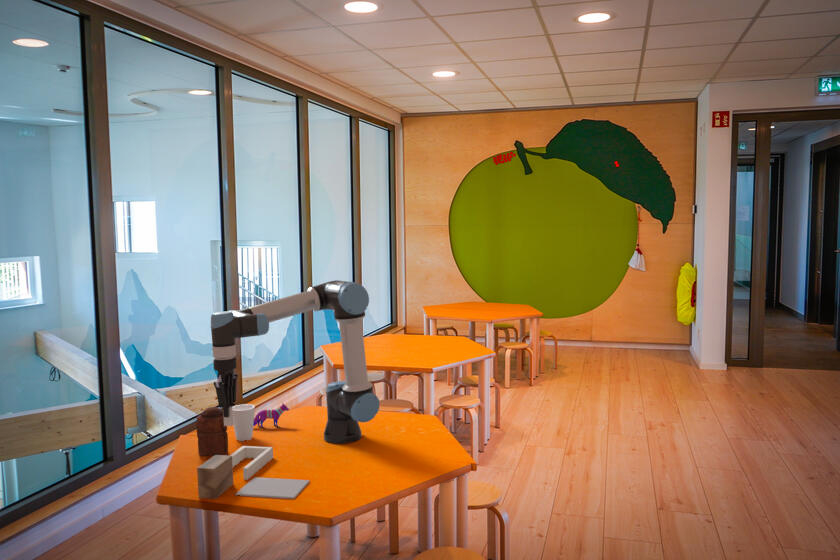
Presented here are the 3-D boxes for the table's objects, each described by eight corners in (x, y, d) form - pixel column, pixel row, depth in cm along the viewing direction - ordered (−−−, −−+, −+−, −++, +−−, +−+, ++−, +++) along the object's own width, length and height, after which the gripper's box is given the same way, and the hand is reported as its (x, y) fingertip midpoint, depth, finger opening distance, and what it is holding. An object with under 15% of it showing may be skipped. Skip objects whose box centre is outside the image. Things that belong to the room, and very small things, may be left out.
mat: (309, 482, 230) (309, 480, 230) (294, 499, 216) (293, 497, 216) (254, 478, 234) (254, 477, 234) (235, 495, 220) (235, 493, 220)
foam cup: (259, 435, 282) (257, 404, 280) (251, 442, 272) (250, 410, 271) (237, 434, 283) (235, 404, 281) (228, 442, 273) (227, 410, 272)
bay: (273, 457, 254) (272, 447, 254) (247, 479, 233) (247, 468, 233) (243, 456, 257) (242, 445, 256) (215, 477, 236) (214, 466, 235)
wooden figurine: (230, 449, 264) (228, 404, 263) (227, 455, 258) (225, 408, 256) (199, 451, 263) (197, 405, 262) (195, 457, 257) (193, 410, 255)
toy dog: (290, 427, 291) (289, 403, 290) (246, 430, 289) (245, 406, 288) (290, 424, 295) (289, 401, 294) (247, 427, 292) (246, 404, 291)
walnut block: (233, 484, 230) (231, 455, 229) (215, 499, 218) (214, 468, 217) (217, 483, 231) (215, 454, 230) (198, 497, 219) (197, 467, 218)
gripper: (223, 353, 237) (227, 419, 240) (204, 361, 224) (209, 431, 227) (243, 353, 236) (247, 419, 238) (225, 361, 223) (230, 431, 225)
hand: (228, 425), depth 232 cm, fingers closed
